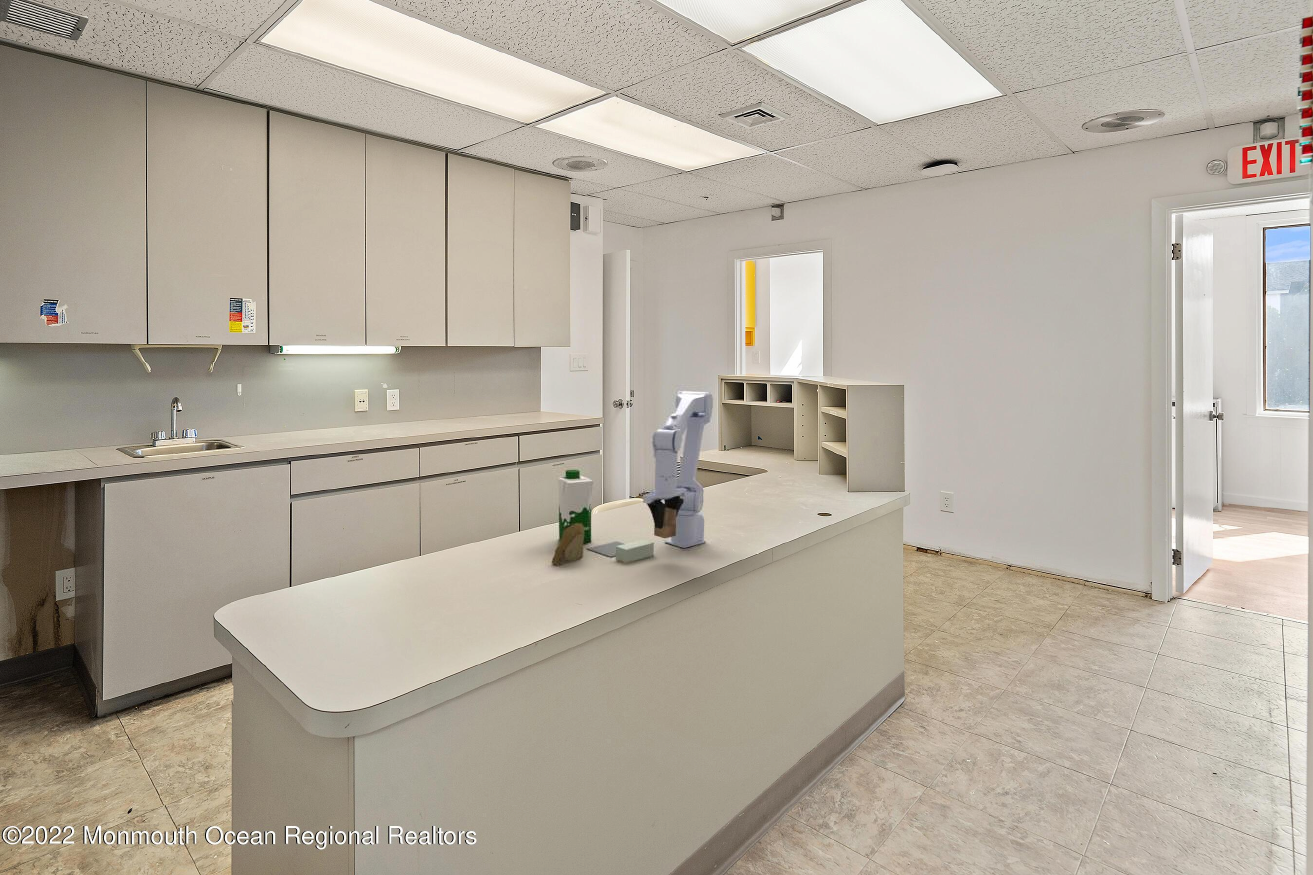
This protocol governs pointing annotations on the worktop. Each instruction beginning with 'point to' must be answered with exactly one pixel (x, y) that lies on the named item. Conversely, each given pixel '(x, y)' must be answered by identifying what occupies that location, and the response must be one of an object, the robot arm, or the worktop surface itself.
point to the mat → (606, 549)
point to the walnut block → (667, 524)
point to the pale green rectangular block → (634, 551)
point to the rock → (570, 545)
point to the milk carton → (575, 502)
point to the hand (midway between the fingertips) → (664, 526)
